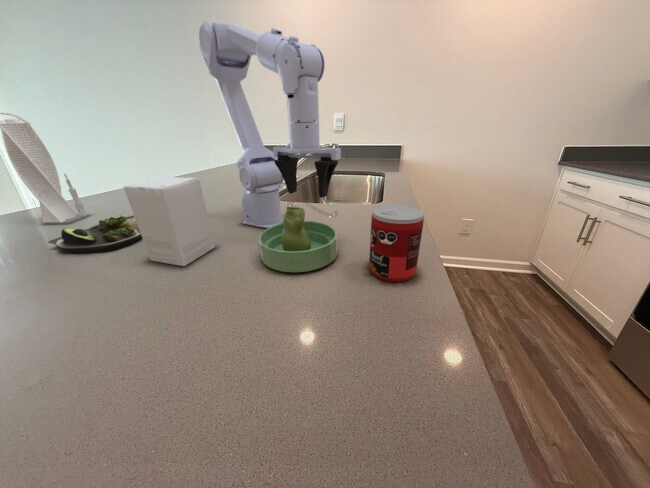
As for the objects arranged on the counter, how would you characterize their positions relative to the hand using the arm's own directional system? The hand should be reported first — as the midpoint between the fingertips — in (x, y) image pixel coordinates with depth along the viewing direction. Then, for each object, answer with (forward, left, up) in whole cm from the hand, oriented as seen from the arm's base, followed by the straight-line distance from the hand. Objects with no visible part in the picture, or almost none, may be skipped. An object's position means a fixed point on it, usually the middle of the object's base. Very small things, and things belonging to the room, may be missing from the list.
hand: (307, 194), depth 54 cm
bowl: (+2, -8, -10) cm, 13 cm away
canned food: (+20, -6, -11) cm, 23 cm away
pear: (+3, -9, -10) cm, 14 cm away
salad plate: (-44, -21, -11) cm, 49 cm away
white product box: (-20, -18, -11) cm, 28 cm away
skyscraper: (-72, -20, -11) cm, 75 cm away
